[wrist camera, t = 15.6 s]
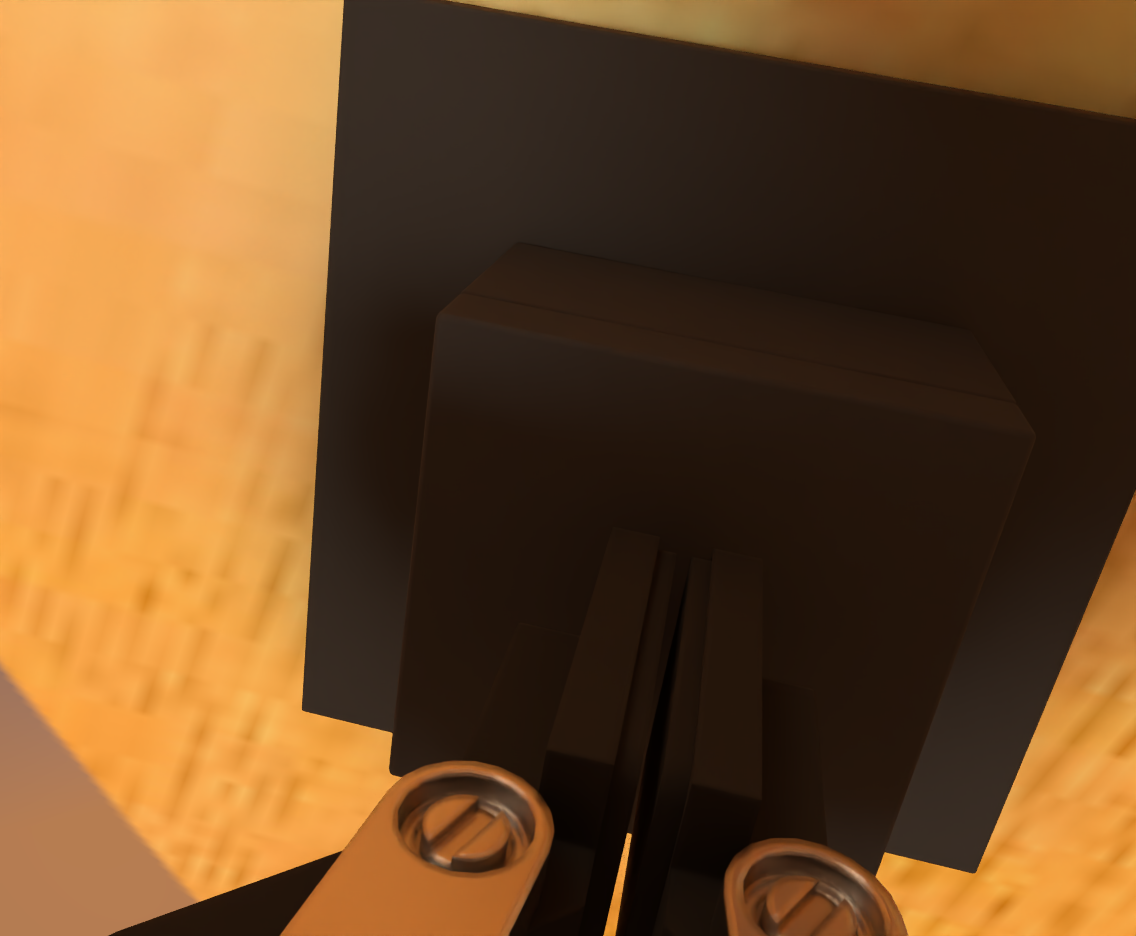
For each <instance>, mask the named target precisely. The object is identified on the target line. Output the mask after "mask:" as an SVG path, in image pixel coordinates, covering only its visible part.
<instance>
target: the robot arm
mask: <svg viewBox="0 0 1136 936" xmlns="http://www.w3.org/2000/svg"><path fill="white" fill-rule="evenodd" d="M659 540H660V537H659V536H654V535H650V534H645V533H640V532H636V531H631V530H627V529H622V528H617V527H613V528H612V531H611V534H610V537H609V541H608V544H607V547H606V551H605V554H604V558H603V561H602V564H601V568H600V571H599V574H598V578H597V581H596V584H595V588H594V591H593V594H592V598H591V601H590V604H589V608H588V611H587V614H586V618H585V621H584V624H583V628H582V631H581V635H580V636H578V635H574V634H569V633H565V632H560V631H556V630H552V629H547V628H543V627H538V626H534V625H529V624H525V623H519V624H518V625H517V627H516V629H515V631H514V634H513V636H512V639H511V641H510V644H509V646H508V649H507V651H506V654H505V656H504V658H503V661H502V663H501V666H500V668H499V671H498V673H497V676H496V678H495V680H494V683H493V685H492V688H491V690H490V693H489V695H488V698H487V700H486V703H485V705H484V707H483V710H482V712H481V715H480V717H479V720H478V722H477V725H476V727H475V729H474V732H473V734H472V737H471V739H470V742H469V744H468V747H467V749H466V751H465V754H464V756H463V759H462V761H445V762H440V763H435V764H430V765H425V766H423V767H421V768H419V769H417V770H415V771H412V772H410V773H408V774H406V775H404V776H403V777H402V778H401V779H400V780H399V781H398V782H397V783H395V784H394V785H393V786H392V787H391V788H390V789H389V790H388V791H387V793H386V794H385V795H384V797H383V798H382V799H381V801H380V802H379V803H378V805H377V806H376V807H375V809H374V810H373V811H372V813H371V814H370V815H369V817H368V818H367V819H366V821H365V822H364V823H363V825H362V826H361V827H360V829H359V830H358V831H357V833H356V834H355V835H354V837H353V838H352V839H351V841H350V842H349V843H348V845H347V846H346V847H345V849H344V850H343V851H340V852H338V853H335V854H332V855H329V856H326V857H324V858H321V859H318V860H315V861H313V862H310V863H307V864H304V865H301V866H299V867H296V868H293V869H290V870H287V871H285V872H282V873H279V874H276V875H273V876H271V877H268V878H265V879H262V880H260V881H257V882H254V883H251V884H248V885H246V886H243V887H240V888H237V889H234V890H232V891H229V892H226V893H223V894H220V895H218V896H215V897H212V898H209V899H207V900H204V901H201V902H198V903H195V904H193V905H190V906H187V907H184V908H182V909H179V910H176V911H173V912H170V913H167V914H165V915H162V916H159V917H156V918H154V919H151V920H148V921H145V922H143V923H140V924H137V925H134V926H131V927H128V928H126V929H123V930H120V931H118V932H115V933H113V934H111V935H109V936H603V935H604V931H605V926H606V922H607V918H608V913H609V909H610V905H611V900H612V896H613V892H614V887H615V883H616V878H617V874H618V870H619V865H620V861H621V857H622V852H623V848H624V844H625V839H626V835H627V831H628V826H629V822H630V818H631V813H632V809H633V805H634V800H635V796H636V791H637V786H638V781H639V776H640V771H641V766H642V761H643V755H644V750H645V744H646V738H647V731H648V725H649V719H650V713H651V707H652V701H653V695H654V689H655V683H656V676H657V670H658V664H659V658H660V652H661V646H662V640H663V634H664V628H665V622H666V615H667V609H668V603H669V597H670V591H671V585H672V579H673V573H674V567H675V560H676V554H677V553H672V552H668V551H663V550H659V549H658V545H659ZM762 598H763V562H762V559H760V558H756V557H751V556H747V555H742V554H737V553H733V552H728V551H724V550H719V549H714V548H713V550H712V553H711V557H710V561H709V560H705V559H700V558H695V557H692V558H691V561H690V565H689V569H688V574H687V578H686V582H685V587H684V591H683V595H682V600H681V604H680V608H679V613H678V617H677V621H676V626H675V630H674V634H673V639H672V643H671V647H670V652H669V656H668V660H667V665H666V669H665V673H664V678H663V682H662V686H661V691H660V695H659V699H658V704H657V708H656V712H655V717H654V721H653V725H652V730H651V734H650V738H649V743H648V747H647V752H646V756H645V761H644V766H643V771H642V776H641V782H640V788H639V794H638V800H637V806H636V813H635V819H634V825H633V831H632V837H631V843H630V850H629V856H628V862H627V868H626V874H625V880H624V887H623V893H622V899H621V905H620V911H619V917H618V924H617V930H616V936H908V933H907V930H906V927H905V924H904V921H903V918H902V915H901V914H900V912H899V910H898V908H897V906H896V904H895V902H894V900H893V898H892V896H891V894H890V893H889V892H888V891H887V890H886V889H885V887H884V886H883V885H882V884H881V883H880V882H879V881H878V880H877V878H876V877H875V876H874V875H873V874H872V873H871V872H869V871H868V870H866V869H865V868H864V867H862V866H861V865H860V864H858V863H857V862H856V861H854V860H853V859H851V858H850V857H848V856H846V855H844V854H842V853H840V852H838V851H836V850H833V849H831V848H829V847H828V846H827V833H826V820H825V807H824V794H823V781H822V768H821V755H820V742H819V729H818V716H817V703H816V696H815V691H814V690H813V689H811V688H807V687H803V686H798V685H794V684H789V683H785V682H781V681H776V680H772V679H767V678H763V677H762Z"/></svg>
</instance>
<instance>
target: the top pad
mask: <svg viewBox="0 0 1136 936" xmlns="http://www.w3.org/2000/svg"><path fill="white" fill-rule="evenodd" d="M1035 439H1036V436H1035V432H1034V431H1033V429H1032V428H1031V426H1030V424H1029V423H1028V421H1027V420H1026V418H1025V417H1024V415H1023V413H1022V412H1021V410H1020V409H1019V407H1018V406H1017V405H1016V401H1015V400H1014V398H1013V396H1012V395H1011V393H1010V392H1009V390H1008V389H1007V387H1006V385H1005V384H1004V382H1003V381H1002V379H1001V378H1000V376H999V374H998V373H997V371H996V370H995V368H994V367H993V365H992V364H991V362H990V360H989V359H988V357H987V356H986V354H985V353H984V351H983V349H982V348H981V346H980V345H979V343H978V342H977V340H976V339H975V337H974V335H973V334H972V332H971V331H970V330H968V329H963V328H958V327H952V326H947V325H942V324H937V323H932V322H927V321H921V320H916V319H911V318H906V317H901V316H896V315H890V314H885V313H880V312H875V311H870V310H865V309H859V308H854V307H849V306H844V305H839V304H834V303H828V302H823V301H818V300H813V299H808V298H803V297H797V296H792V295H787V294H782V293H777V292H772V291H766V290H761V289H756V288H751V287H746V286H741V285H735V284H730V283H725V282H720V281H715V280H710V279H704V278H699V277H694V276H689V275H684V274H679V273H673V272H668V271H663V270H658V269H653V268H648V267H642V266H637V265H632V264H627V263H622V262H617V261H611V260H606V259H601V258H596V257H591V256H586V255H580V254H575V253H570V252H565V251H560V250H555V249H549V248H544V247H539V246H534V245H529V244H524V243H516V244H515V245H513V246H512V247H511V248H510V249H509V250H508V251H507V252H506V253H504V254H503V255H502V256H501V257H500V258H499V259H498V260H497V261H496V262H494V263H493V264H492V265H491V266H490V267H489V268H488V269H487V270H485V271H484V272H483V273H482V274H481V275H480V276H479V277H478V278H476V279H475V280H474V281H473V282H472V283H471V284H470V285H469V286H468V287H466V288H465V289H464V290H463V291H462V293H461V294H460V295H458V296H457V297H456V298H455V299H454V300H453V301H452V302H451V303H450V304H448V305H447V306H446V307H445V308H444V309H443V310H442V311H441V312H439V314H438V315H437V317H436V325H435V334H434V344H433V353H432V363H431V373H430V382H429V392H428V401H427V411H426V420H425V430H424V440H423V449H422V459H421V468H420V478H419V487H418V497H417V507H416V516H415V526H414V535H413V545H412V554H411V564H410V574H409V583H408V593H407V602H406V612H405V621H404V631H403V641H402V650H401V660H400V669H399V679H398V688H397V698H396V708H395V717H394V727H393V736H392V746H391V755H390V765H389V770H390V773H391V774H392V775H395V776H399V777H403V776H404V775H406V774H408V773H410V772H412V771H415V770H417V769H419V768H421V767H423V766H425V765H430V764H435V763H440V762H445V761H462V759H463V756H464V754H465V751H466V749H467V747H468V744H469V742H470V739H471V737H472V734H473V732H474V729H475V727H476V725H477V722H478V720H479V717H480V715H481V712H482V710H483V707H484V705H485V703H486V700H487V698H488V695H489V693H490V690H491V688H492V685H493V683H494V680H495V678H496V676H497V673H498V671H499V668H500V666H501V663H502V661H503V658H504V656H505V654H506V651H507V649H508V646H509V644H510V641H511V639H512V636H513V634H514V631H515V629H516V627H517V625H518V624H519V623H525V624H529V625H534V626H538V627H543V628H547V629H552V630H556V631H560V632H565V633H569V634H574V635H578V636H580V635H581V631H582V628H583V624H584V621H585V618H586V614H587V611H588V608H589V604H590V601H591V598H592V594H593V591H594V588H595V584H596V581H597V578H598V574H599V571H600V568H601V564H602V561H603V558H604V554H605V551H606V547H607V544H608V541H609V537H610V534H611V531H612V528H613V527H617V528H622V529H627V530H631V531H636V532H640V533H645V534H650V535H654V536H659V537H660V540H659V545H658V549H659V550H663V551H668V552H672V553H677V554H676V560H675V567H674V573H673V579H672V585H671V591H670V597H669V603H668V609H667V615H666V622H665V628H664V634H663V640H662V646H661V652H660V658H659V664H658V670H657V676H656V683H655V689H654V695H653V701H652V707H651V713H650V719H649V725H648V731H647V738H646V744H645V750H644V755H643V761H642V766H641V771H640V776H639V781H638V786H637V791H636V796H635V800H634V805H633V809H632V813H631V818H630V822H629V826H628V831H627V833H630V834H632V831H633V825H634V819H635V813H636V806H637V800H638V794H639V788H640V782H641V776H642V771H643V766H644V761H645V756H646V752H647V747H648V743H649V738H650V734H651V730H652V725H653V721H654V717H655V712H656V708H657V704H658V699H659V695H660V691H661V686H662V682H663V678H664V673H665V669H666V665H667V660H668V656H669V652H670V647H671V643H672V639H673V634H674V630H675V626H676V621H677V617H678V613H679V608H680V604H681V600H682V595H683V591H684V587H685V582H686V578H687V574H688V569H689V565H690V561H691V558H692V557H695V558H700V559H705V560H709V561H710V557H711V553H712V550H713V548H714V549H719V550H724V551H728V552H733V553H737V554H742V555H747V556H751V557H756V558H760V559H762V562H763V598H762V677H763V678H767V679H772V680H776V681H781V682H785V683H789V684H794V685H798V686H803V687H807V688H811V689H813V690H814V691H815V696H816V703H817V716H818V729H819V742H820V755H821V768H822V781H823V794H824V807H825V820H826V833H827V846H828V847H829V848H831V849H833V850H836V851H838V852H840V853H842V854H844V855H846V856H848V857H850V858H851V859H853V860H854V861H856V862H857V863H858V864H860V865H861V866H862V867H864V868H865V869H866V870H868V871H869V872H871V873H872V874H873V875H874V876H876V874H877V871H878V868H879V866H880V863H881V860H882V857H883V855H884V852H885V849H886V846H887V844H888V841H889V838H890V835H891V833H892V830H893V827H894V825H895V822H896V819H897V816H898V814H899V811H900V808H901V805H902V803H903V800H904V797H905V795H906V792H907V789H908V786H909V784H910V781H911V778H912V775H913V773H914V770H915V767H916V764H917V762H918V759H919V756H920V754H921V751H922V748H923V745H924V743H925V740H926V737H927V734H928V732H929V729H930V726H931V723H932V721H933V718H934V715H935V713H936V710H937V707H938V704H939V702H940V699H941V696H942V693H943V691H944V688H945V685H946V683H947V680H948V677H949V674H950V672H951V669H952V666H953V663H954V661H955V658H956V655H957V652H958V650H959V647H960V644H961V642H962V639H963V636H964V633H965V631H966V628H967V625H968V622H969V620H970V617H971V614H972V612H973V609H974V606H975V603H976V601H977V598H978V595H979V592H980V590H981V587H982V584H983V581H984V579H985V576H986V573H987V571H988V568H989V565H990V562H991V560H992V557H993V554H994V551H995V549H996V546H997V543H998V540H999V538H1000V535H1001V532H1002V530H1003V527H1004V524H1005V521H1006V519H1007V516H1008V513H1009V510H1010V508H1011V505H1012V502H1013V500H1014V497H1015V494H1016V491H1017V489H1018V486H1019V483H1020V480H1021V478H1022V475H1023V472H1024V469H1025V467H1026V464H1027V461H1028V459H1029V456H1030V453H1031V450H1032V448H1033V445H1034V442H1035Z"/></svg>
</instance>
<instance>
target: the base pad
mask: <svg viewBox="0 0 1136 936" xmlns="http://www.w3.org/2000/svg"><path fill="white" fill-rule="evenodd" d="M516 243H524V244H529V245H534V246H539V247H544V248H549V249H555V250H560V251H565V252H570V253H575V254H580V255H586V256H591V257H596V258H601V259H606V260H611V261H617V262H622V263H627V264H632V265H637V266H642V267H648V268H653V269H658V270H663V271H668V272H673V273H679V274H684V275H689V276H694V277H699V278H704V279H710V280H715V281H720V282H725V283H730V284H735V285H741V286H746V287H751V288H756V289H761V290H766V291H772V292H777V293H782V294H787V295H792V296H797V297H803V298H808V299H813V300H818V301H823V302H828V303H834V304H839V305H844V306H849V307H854V308H859V309H865V310H870V311H875V312H880V313H885V314H890V315H896V316H901V317H906V318H911V319H916V320H921V321H927V322H932V323H937V324H942V325H947V326H952V327H958V328H963V329H968V330H970V331H971V332H972V334H973V335H974V337H975V339H976V340H977V342H978V343H979V345H980V346H981V348H982V349H983V351H984V353H985V354H986V356H987V357H988V359H989V360H990V362H991V364H992V365H993V367H994V368H995V370H996V371H997V373H998V374H999V376H1000V378H1001V379H1002V381H1003V382H1004V384H1005V385H1006V387H1007V389H1008V390H1009V392H1010V393H1011V395H1012V396H1013V398H1014V400H1015V401H1016V405H1017V406H1018V407H1019V409H1020V410H1021V412H1022V413H1023V415H1024V417H1025V418H1026V420H1027V421H1028V423H1029V424H1030V426H1031V428H1032V429H1033V431H1034V432H1035V436H1036V439H1035V442H1034V445H1033V448H1032V450H1031V453H1030V456H1029V459H1028V461H1027V464H1026V467H1025V469H1024V472H1023V475H1022V478H1021V480H1020V483H1019V486H1018V489H1017V491H1016V494H1015V497H1014V500H1013V502H1012V505H1011V508H1010V510H1009V513H1008V516H1007V519H1006V521H1005V524H1004V527H1003V530H1002V532H1001V535H1000V538H999V540H998V543H997V546H996V549H995V551H994V554H993V557H992V560H991V562H990V565H989V568H988V571H987V573H986V576H985V579H984V581H983V584H982V587H981V590H980V592H979V595H978V598H977V601H976V603H975V606H974V609H973V612H972V614H971V617H970V620H969V622H968V625H967V628H966V631H965V633H964V636H963V639H962V642H961V644H960V647H959V650H958V652H957V655H956V658H955V661H954V663H953V666H952V669H951V672H950V674H949V677H948V680H947V683H946V685H945V688H944V691H943V693H942V696H941V699H940V702H939V704H938V707H937V710H936V713H935V715H934V718H933V721H932V723H931V726H930V729H929V732H928V734H927V737H926V740H925V743H924V745H923V748H922V751H921V754H920V756H919V759H918V762H917V764H916V767H915V770H914V773H913V775H912V778H911V781H910V784H909V786H908V789H907V792H906V795H905V797H904V800H903V803H902V805H901V808H900V811H899V814H898V816H897V819H896V822H895V825H894V827H893V830H892V833H891V835H890V838H889V841H888V844H887V846H886V849H885V852H887V853H891V854H895V855H899V856H903V857H907V858H911V859H916V860H920V861H924V862H928V863H932V864H936V865H940V866H944V867H949V868H953V869H957V870H961V871H965V872H969V873H976V871H977V868H978V866H979V864H980V861H981V859H982V856H983V854H984V852H985V849H986V847H987V844H988V842H989V840H990V837H991V835H992V833H993V830H994V828H995V825H996V823H997V821H998V818H999V816H1000V813H1001V811H1002V809H1003V806H1004V804H1005V801H1006V799H1007V797H1008V794H1009V792H1010V789H1011V787H1012V785H1013V782H1014V780H1015V777H1016V775H1017V773H1018V770H1019V768H1020V766H1021V763H1022V761H1023V758H1024V756H1025V754H1026V751H1027V749H1028V746H1029V744H1030V742H1031V739H1032V737H1033V734H1034V732H1035V730H1036V727H1037V725H1038V722H1039V720H1040V718H1041V715H1042V713H1043V711H1044V708H1045V706H1046V703H1047V701H1048V699H1049V696H1050V694H1051V691H1052V689H1053V687H1054V684H1055V682H1056V679H1057V677H1058V675H1059V672H1060V670H1061V667H1062V665H1063V663H1064V660H1065V658H1066V655H1067V653H1068V651H1069V648H1070V646H1071V644H1072V641H1073V639H1074V636H1075V634H1076V632H1077V629H1078V627H1079V624H1080V622H1081V620H1082V617H1083V615H1084V612H1085V610H1086V608H1087V605H1088V603H1089V600H1090V598H1091V596H1092V593H1093V591H1094V589H1095V586H1096V584H1097V581H1098V579H1099V577H1100V574H1101V572H1102V569H1103V567H1104V565H1105V562H1106V560H1107V557H1108V555H1109V553H1110V550H1111V548H1112V545H1113V543H1114V541H1115V538H1116V536H1117V533H1118V531H1119V529H1120V526H1121V524H1122V522H1123V519H1124V517H1125V514H1126V512H1127V510H1128V507H1129V505H1130V502H1131V500H1132V498H1133V495H1134V493H1135V490H1136V119H1132V118H1126V117H1120V116H1115V115H1109V114H1103V113H1097V112H1091V111H1085V110H1080V109H1074V108H1068V107H1062V106H1056V105H1051V104H1045V103H1039V102H1033V101H1027V100H1021V99H1016V98H1010V97H1004V96H998V95H992V94H987V93H981V92H975V91H969V90H963V89H958V88H952V87H946V86H940V85H934V84H928V83H923V82H917V81H911V80H905V79H899V78H894V77H888V76H882V75H876V74H870V73H865V72H859V71H853V70H847V69H841V68H835V67H830V66H824V65H818V64H812V63H806V62H801V61H795V60H789V59H783V58H777V57H771V56H766V55H760V54H754V53H748V52H742V51H737V50H731V49H725V48H719V47H713V46H708V45H702V44H696V43H690V42H684V41H678V40H673V39H667V38H661V37H655V36H649V35H644V34H638V33H632V32H626V31H620V30H614V29H609V28H603V27H597V26H591V25H585V24H580V23H574V22H568V21H562V20H556V19H551V18H545V17H539V16H533V15H527V14H521V13H516V12H510V11H504V10H498V9H492V8H487V7H481V6H475V5H469V4H463V3H458V2H452V1H446V0H344V9H343V26H342V42H341V59H340V76H339V93H338V110H337V127H336V144H335V160H334V177H333V194H332V211H331V228H330V245H329V261H328V278H327V295H326V312H325V329H324V346H323V363H322V379H321V396H320V413H319V430H318V447H317V464H316V480H315V497H314V514H313V531H312V548H311V565H310V582H309V598H308V615H307V632H306V649H305V666H304V683H303V699H302V710H303V711H306V712H310V713H314V714H318V715H322V716H326V717H330V718H334V719H339V720H343V721H347V722H351V723H355V724H359V725H363V726H367V727H371V728H376V729H380V730H384V731H388V732H392V733H393V727H394V717H395V708H396V698H397V688H398V679H399V669H400V660H401V650H402V641H403V631H404V621H405V612H406V602H407V593H408V583H409V574H410V564H411V554H412V545H413V535H414V526H415V516H416V507H417V497H418V487H419V478H420V468H421V459H422V449H423V440H424V430H425V420H426V411H427V401H428V392H429V382H430V373H431V363H432V353H433V344H434V334H435V325H436V317H437V315H438V314H439V312H441V311H442V310H443V309H444V308H445V307H446V306H447V305H448V304H450V303H451V302H452V301H453V300H454V299H455V298H456V297H457V296H458V295H460V294H461V293H462V291H463V290H464V289H465V288H466V287H468V286H469V285H470V284H471V283H472V282H473V281H474V280H475V279H476V278H478V277H479V276H480V275H481V274H482V273H483V272H484V271H485V270H487V269H488V268H489V267H490V266H491V265H492V264H493V263H494V262H496V261H497V260H498V259H499V258H500V257H501V256H502V255H503V254H504V253H506V252H507V251H508V250H509V249H510V248H511V247H512V246H513V245H515V244H516Z"/></svg>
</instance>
